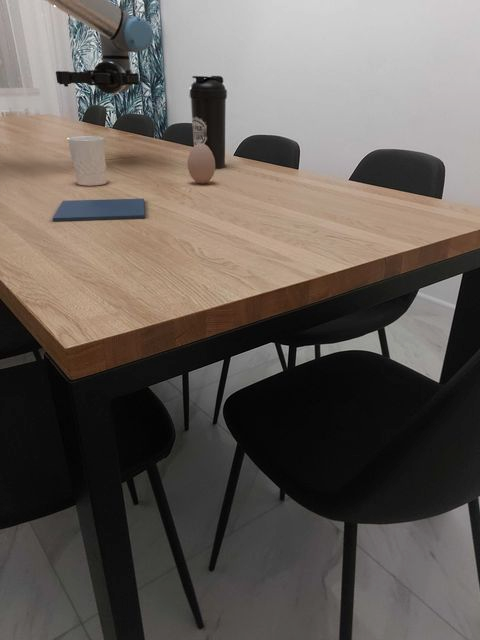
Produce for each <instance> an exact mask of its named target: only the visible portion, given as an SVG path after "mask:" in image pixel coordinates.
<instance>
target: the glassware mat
mask: <svg viewBox="0 0 480 640" xmlns="http://www.w3.org/2000/svg"><path fill="white" fill-rule="evenodd" d="M145 206H146V205H145V198H113V199H111V198H110V199H109V198H107V199H75V200H74V199H73V200H62V201H61V203H60V205H59V206H58V208H57V210H56V211H55V213H54V215H53V216H52V221H53V222H70V221H71V222H73V221H74V222H75V221H101V220H103V221H105V220H131V219H132V220H133V219H134V220H135V219H145V218H146V209H145Z"/></svg>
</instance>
